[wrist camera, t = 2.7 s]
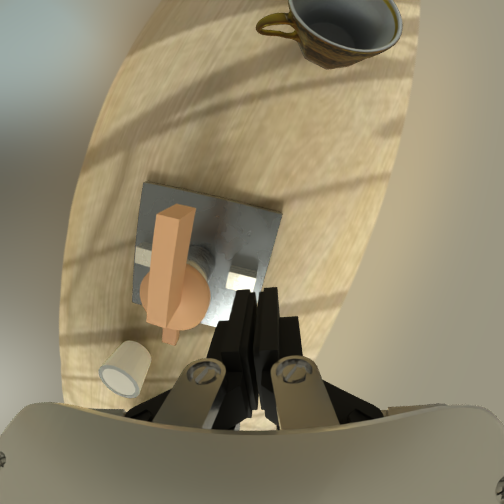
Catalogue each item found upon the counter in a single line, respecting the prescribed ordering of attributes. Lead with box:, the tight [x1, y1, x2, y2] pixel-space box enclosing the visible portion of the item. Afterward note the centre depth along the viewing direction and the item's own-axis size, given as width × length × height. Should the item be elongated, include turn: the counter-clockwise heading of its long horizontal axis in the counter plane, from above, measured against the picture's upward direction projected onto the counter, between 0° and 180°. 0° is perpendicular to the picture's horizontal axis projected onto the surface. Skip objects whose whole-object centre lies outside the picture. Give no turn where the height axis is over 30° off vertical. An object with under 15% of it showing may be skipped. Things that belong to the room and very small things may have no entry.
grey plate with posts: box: [132, 181, 282, 327], centre depth 29 cm, size 16×16×8 cm
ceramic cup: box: [256, 0, 403, 69], centre depth 19 cm, size 13×10×10 cm
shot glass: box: [99, 341, 152, 398], centre depth 35 cm, size 7×7×7 cm
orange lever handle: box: [140, 204, 211, 346], centre depth 22 cm, size 14×6×6 cm, turn 166°
